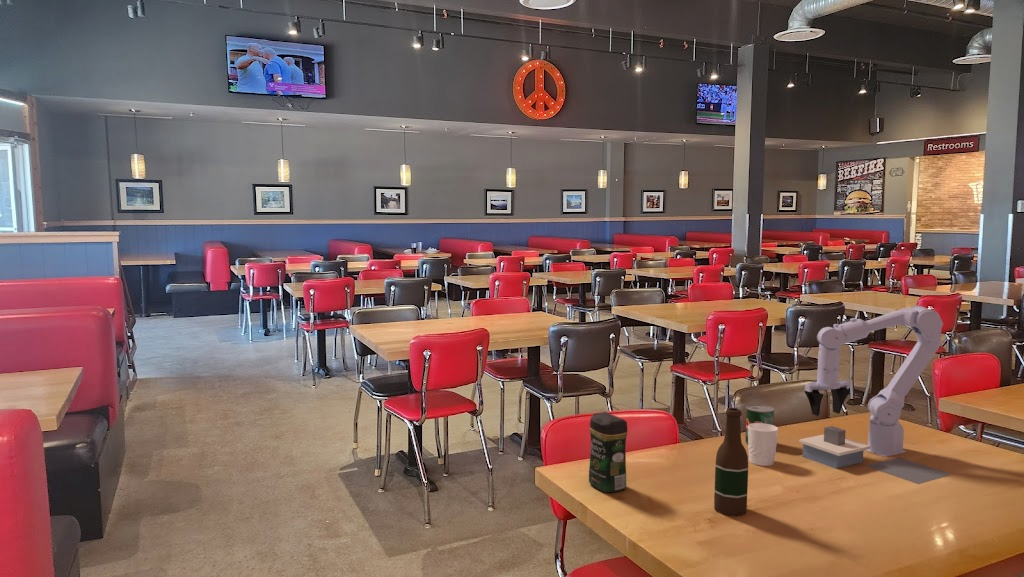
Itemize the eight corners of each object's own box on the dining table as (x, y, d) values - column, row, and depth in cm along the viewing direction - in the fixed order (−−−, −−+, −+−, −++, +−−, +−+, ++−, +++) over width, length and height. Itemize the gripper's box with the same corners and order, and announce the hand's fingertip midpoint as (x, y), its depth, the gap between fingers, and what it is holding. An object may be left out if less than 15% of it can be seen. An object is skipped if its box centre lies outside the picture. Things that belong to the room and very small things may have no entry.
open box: (828, 452, 205) (829, 436, 205) (862, 463, 196) (863, 447, 195) (802, 457, 200) (803, 442, 200) (836, 470, 190) (837, 454, 190)
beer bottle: (707, 503, 168) (711, 405, 165) (739, 502, 168) (743, 404, 166) (720, 517, 160) (723, 414, 157) (753, 516, 160) (757, 413, 158)
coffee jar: (583, 482, 180) (584, 412, 179) (608, 477, 184) (610, 408, 182) (605, 496, 172) (606, 421, 170) (631, 490, 176) (633, 417, 174)
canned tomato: (775, 442, 214) (777, 407, 213) (768, 449, 207) (770, 413, 206) (749, 437, 218) (750, 403, 217) (741, 444, 212) (743, 408, 211)
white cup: (772, 457, 200) (773, 423, 199) (779, 467, 192) (781, 431, 191) (743, 456, 201) (745, 422, 200) (750, 466, 193) (751, 430, 192)
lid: (829, 435, 206) (830, 419, 205) (870, 448, 194) (871, 431, 194) (798, 442, 200) (799, 425, 199) (839, 456, 188) (840, 438, 188)
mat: (898, 458, 200) (898, 457, 200) (952, 475, 187) (952, 474, 187) (864, 467, 193) (864, 465, 193) (918, 485, 180) (918, 484, 180)
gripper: (818, 372, 200) (815, 419, 202) (858, 369, 205) (856, 415, 206) (800, 367, 207) (798, 413, 208) (840, 364, 211) (838, 409, 213)
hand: (826, 413), depth 208 cm, fingers open, 7 cm apart
